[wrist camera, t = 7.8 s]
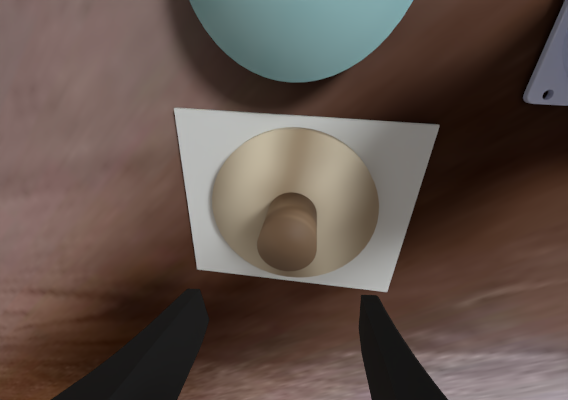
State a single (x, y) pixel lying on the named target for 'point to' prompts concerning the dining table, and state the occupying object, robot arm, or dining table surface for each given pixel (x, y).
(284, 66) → the light blue flat disc
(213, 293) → the dining table surface
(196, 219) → the mat
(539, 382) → the dining table surface
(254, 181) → the lid
